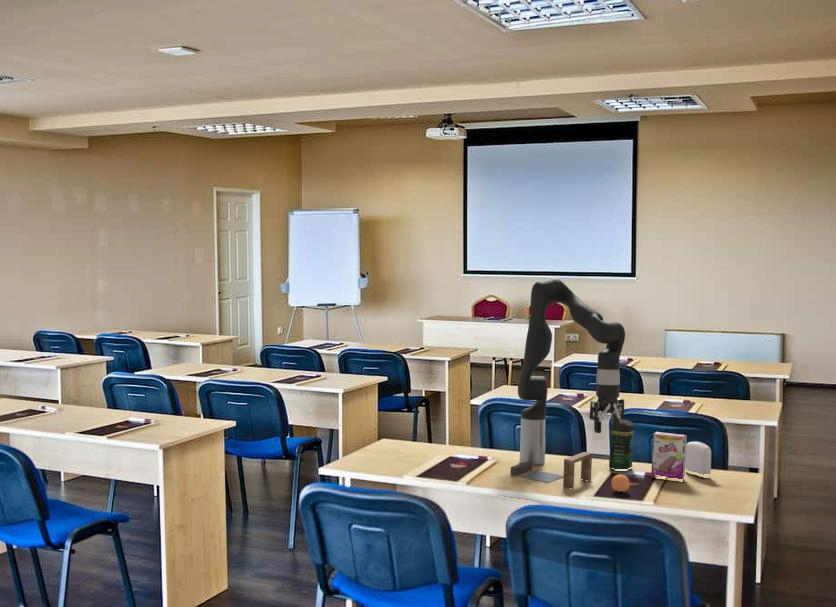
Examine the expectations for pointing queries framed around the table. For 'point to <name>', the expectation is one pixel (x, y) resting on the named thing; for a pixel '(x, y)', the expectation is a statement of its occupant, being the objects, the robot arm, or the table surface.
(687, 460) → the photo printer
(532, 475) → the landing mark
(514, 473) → the stopper bar
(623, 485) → the ball
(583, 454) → the bridge
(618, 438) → the coffee jar
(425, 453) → the table surface
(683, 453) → the candy bar box
